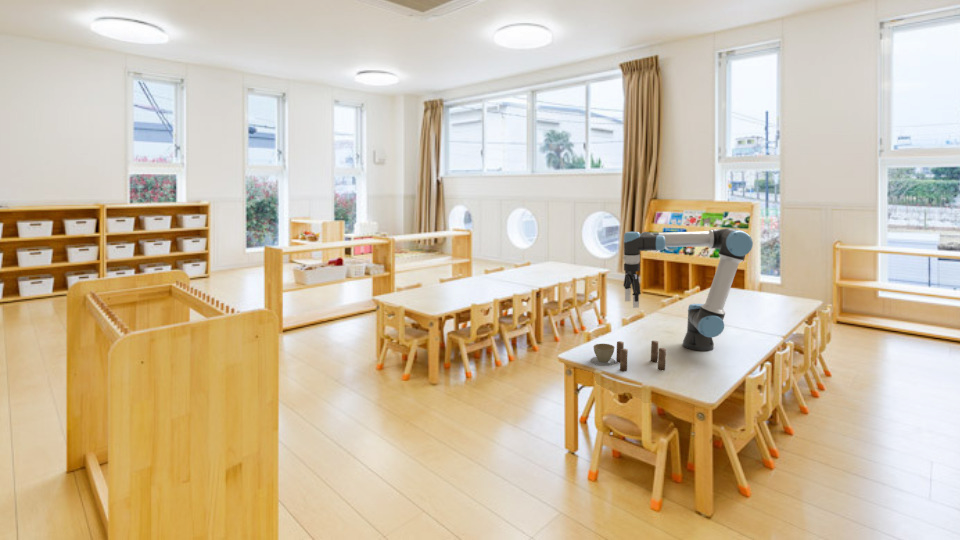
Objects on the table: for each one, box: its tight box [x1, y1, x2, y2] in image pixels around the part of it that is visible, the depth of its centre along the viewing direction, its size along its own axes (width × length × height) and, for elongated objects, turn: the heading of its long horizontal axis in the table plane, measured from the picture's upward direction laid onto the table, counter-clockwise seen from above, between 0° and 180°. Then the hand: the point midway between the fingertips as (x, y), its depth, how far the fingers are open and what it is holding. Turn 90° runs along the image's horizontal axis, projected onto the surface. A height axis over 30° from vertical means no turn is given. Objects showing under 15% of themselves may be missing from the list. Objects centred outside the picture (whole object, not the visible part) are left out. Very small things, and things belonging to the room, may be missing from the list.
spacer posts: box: [615, 340, 667, 372], centre depth 250 cm, size 21×15×10 cm
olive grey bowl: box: [592, 343, 615, 362], centre depth 257 cm, size 10×10×7 cm
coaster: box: [590, 356, 617, 367], centre depth 258 cm, size 12×12×1 cm
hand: (631, 304), depth 264 cm, fingers open, 13 cm apart
